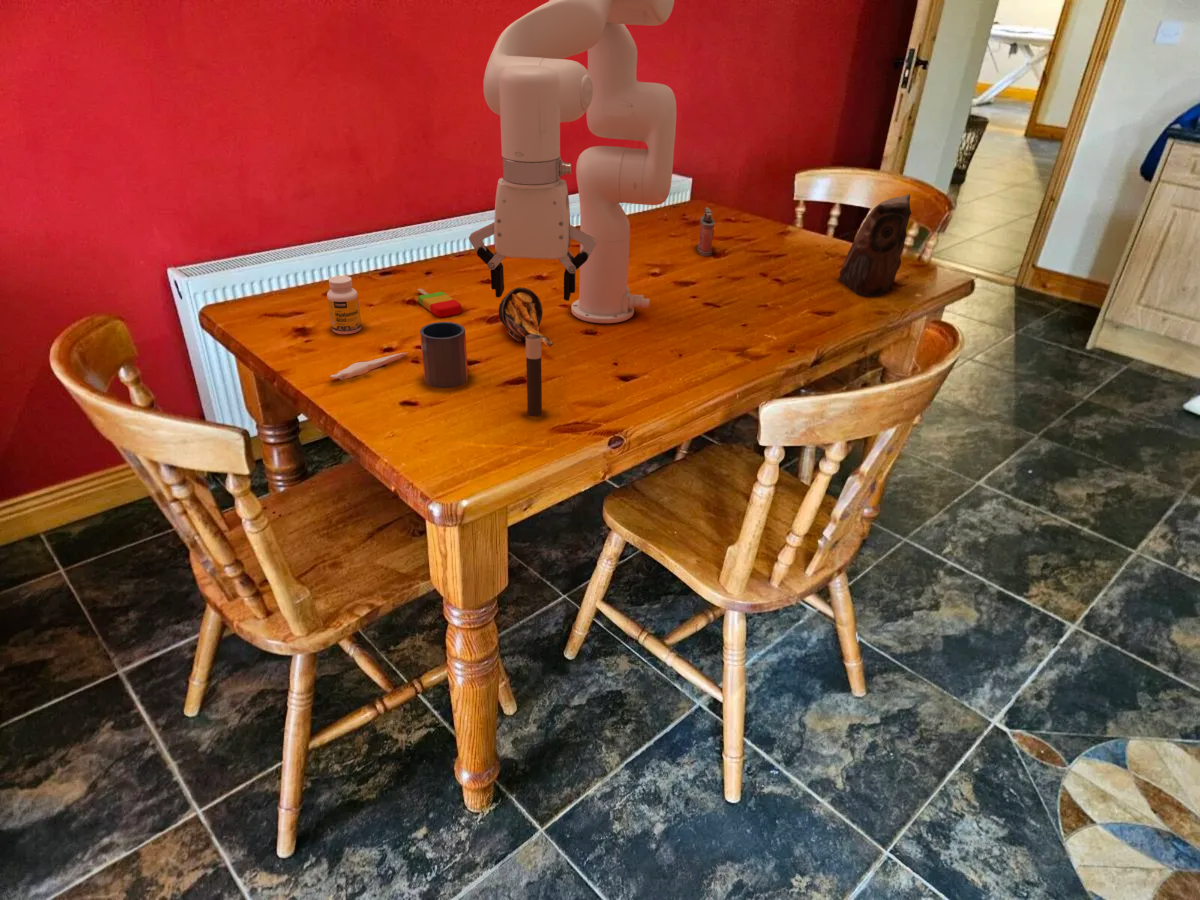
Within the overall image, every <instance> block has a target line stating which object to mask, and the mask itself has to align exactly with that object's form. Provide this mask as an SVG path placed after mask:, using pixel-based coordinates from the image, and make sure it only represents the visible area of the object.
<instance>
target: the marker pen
mask: <svg viewBox="0 0 1200 900" xmlns="http://www.w3.org/2000/svg"><path fill="white" fill-rule="evenodd" d="M542 345H543V343H542V340H541V336H540V335H537V334H530V335H527V336H526V340H525V357H526V358H525V359H526V361H525V362H526V365H525V367H526V404H527V405H526V409H527V410H526V411H527V415H528V416H530V417H533V418H534V417H540V416H541V415H542V413H543V399H542V398H543V397H542V396H543V393H542V391H543V390H542V389H543V387H542V385H543V384H542V383H543V382H542V378H543V377H542V357H543V355H542V351H543V349H542Z"/></svg>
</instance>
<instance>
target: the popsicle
mask: <svg viewBox="0 0 1200 900" xmlns="http://www.w3.org/2000/svg"><path fill="white" fill-rule="evenodd" d="M416 291H417V292H419V294H421V295H418V296H417V302H418V304H419V305H420V306H422V307H423V308H425V309H426V310H428V311H429V312H431V314H433V315H434V316H435V317H438V318H447V317H451V316H456V315H459V314H461V313H462V309H463V307H462V304H461V303H460V302H459V301H457V300H456V299H455V298H453V297H451V296H450V295H449V294H447V293H445V292H444V291H443V290H442V291H437V292H431V293H428V292H427V291H426V290H425V289H423V288H417V289H416Z"/></svg>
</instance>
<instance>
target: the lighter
mask: <svg viewBox="0 0 1200 900" xmlns="http://www.w3.org/2000/svg"><path fill="white" fill-rule="evenodd" d="M715 221H716V220H715V219H714V218H713V210H712V209H710V207H707V206H706V207H705V208H704V212H703V216H700V220H699V223H700V229H699V240H698V243H697V252H698V253H699V255H701V256H703V257H704V256H705V257H706V256H707V257H708V256H712V252H713V247H712V244H713V237H714V232H715V229H714V228H715V223H716V222H715Z"/></svg>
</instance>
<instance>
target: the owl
mask: <svg viewBox="0 0 1200 900" xmlns="http://www.w3.org/2000/svg"><path fill="white" fill-rule="evenodd" d="M910 200H911V194H910V193H909V194H905V195H902V196H897V197H893V198H889V199H886V200H883V201H881V202H880V203H879V204H878V205H876V206H875V207H874V208H873V209H872V210H871V211H870V212H869V214H867V217H866V218H865V220H864V221H863V223H862V226H861V228H860V229H859V231H858V233H857V234H856V237H855V239H854V240H853V242H852V244H851V246H850V248H849V250H848V252H847V254H846V257H845V260H844V262H843V265H842V267H841V268H840V270H839V276H838V278H837V280H838V281H840V283H843V285H845V286H847V287H848V288H849V289H850V290H852V291H853V292H854V293H855V294H856V295H859V296H861V297H865V298H870V297H871V298H873V297H882V296H883V295H884V294H888V293H889V291H893V286H894V284H895V280H896V276H897V273H898V271H899V269H900V268H901V266H902V265H901V264H902V259H901V256H902V254H903V251H904V248H905V242H906V238H907V227H908V225H909V220H910V217H911V215H912V210H911V202H910Z"/></svg>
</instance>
